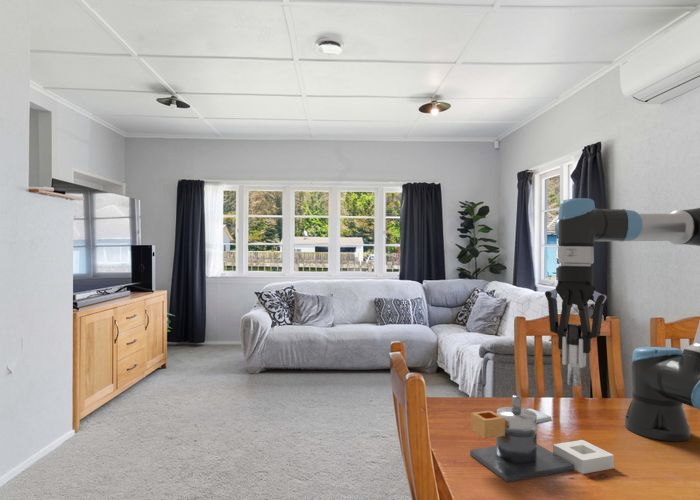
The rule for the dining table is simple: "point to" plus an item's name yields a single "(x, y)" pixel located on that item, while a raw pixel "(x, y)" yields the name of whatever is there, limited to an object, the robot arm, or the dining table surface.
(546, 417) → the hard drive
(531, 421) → the grey and tan piece
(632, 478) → the dining table surface
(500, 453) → the dark square base plate
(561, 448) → the white flat square block
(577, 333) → the black and grey rod
